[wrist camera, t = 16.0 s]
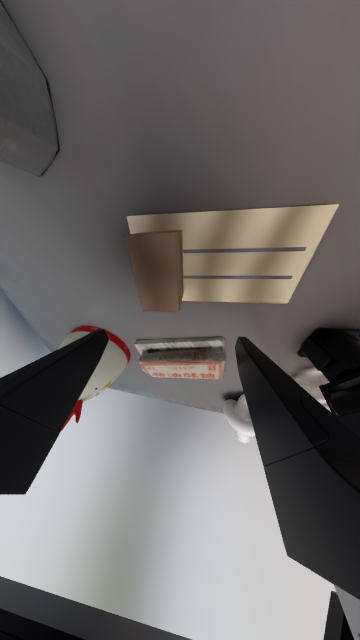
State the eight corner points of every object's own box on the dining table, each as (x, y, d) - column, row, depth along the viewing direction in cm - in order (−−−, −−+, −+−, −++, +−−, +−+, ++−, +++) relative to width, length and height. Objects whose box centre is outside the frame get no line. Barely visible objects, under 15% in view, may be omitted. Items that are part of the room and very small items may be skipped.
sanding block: (182, 229, 14) (174, 232, 10) (183, 290, 18) (179, 312, 14) (146, 231, 14) (123, 235, 10) (156, 290, 19) (142, 311, 14)
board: (328, 205, 12) (339, 204, 11) (283, 299, 18) (287, 303, 17) (131, 216, 15) (126, 216, 14) (147, 296, 21) (145, 299, 20)
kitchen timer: (128, 371, 36) (92, 445, 24) (77, 356, 34) (12, 428, 22) (132, 338, 27) (81, 427, 15) (65, 317, 26) (-48, 397, 14)
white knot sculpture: (253, 382, 32) (268, 429, 25) (277, 401, 36) (297, 446, 28) (216, 394, 37) (220, 435, 30) (241, 409, 41) (249, 448, 34)
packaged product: (228, 355, 20) (226, 386, 26) (224, 334, 24) (223, 365, 30) (126, 356, 24) (144, 384, 30) (136, 338, 28) (150, 365, 33)
